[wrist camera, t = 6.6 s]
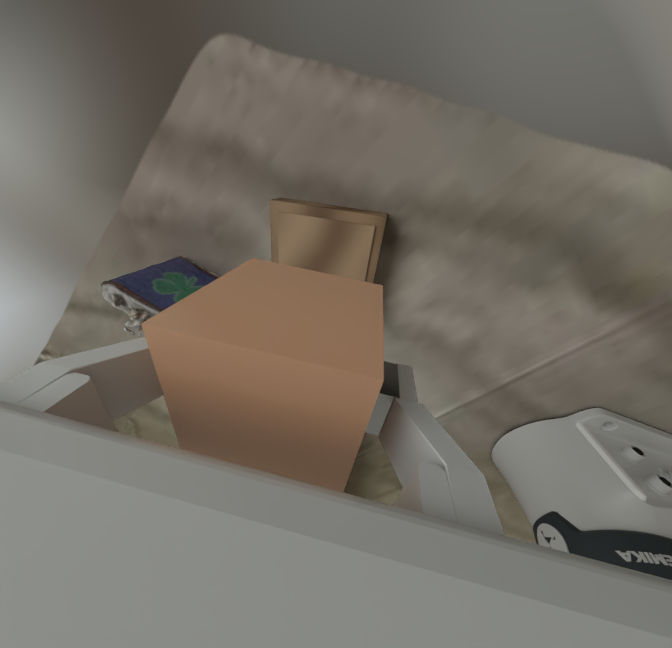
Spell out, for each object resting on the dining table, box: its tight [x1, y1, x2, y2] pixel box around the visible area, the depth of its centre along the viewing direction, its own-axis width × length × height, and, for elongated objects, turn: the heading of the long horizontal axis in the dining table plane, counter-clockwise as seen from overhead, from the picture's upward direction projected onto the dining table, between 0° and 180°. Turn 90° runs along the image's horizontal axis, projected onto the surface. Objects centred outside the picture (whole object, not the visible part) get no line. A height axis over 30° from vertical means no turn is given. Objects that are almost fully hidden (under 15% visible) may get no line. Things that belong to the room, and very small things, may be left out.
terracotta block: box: [141, 258, 384, 492], centre depth 8 cm, size 5×5×5 cm
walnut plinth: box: [270, 198, 387, 283], centre depth 24 cm, size 10×10×3 cm
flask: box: [101, 256, 221, 336], centre depth 25 cm, size 9×3×11 cm, turn 62°
